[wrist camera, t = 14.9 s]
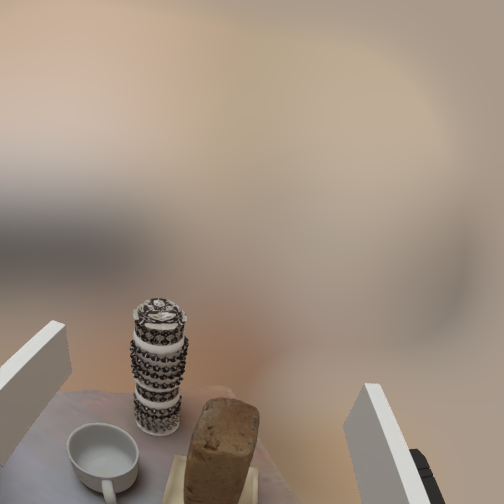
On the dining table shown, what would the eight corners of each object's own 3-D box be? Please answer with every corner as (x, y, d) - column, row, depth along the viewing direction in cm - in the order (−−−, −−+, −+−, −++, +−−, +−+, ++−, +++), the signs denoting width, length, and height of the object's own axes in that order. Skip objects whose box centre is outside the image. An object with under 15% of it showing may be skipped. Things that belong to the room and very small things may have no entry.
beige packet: (157, 523, 30) (156, 520, 29) (174, 457, 43) (175, 453, 43) (254, 539, 30) (256, 536, 29) (257, 471, 43) (258, 467, 43)
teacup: (81, 445, 39) (72, 416, 37) (142, 453, 42) (139, 425, 40) (71, 510, 26) (57, 487, 24) (143, 521, 29) (138, 500, 27)
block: (229, 527, 30) (256, 459, 25) (178, 514, 31) (181, 439, 26) (243, 475, 41) (270, 392, 35) (198, 464, 42) (210, 377, 36)
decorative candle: (186, 437, 48) (197, 322, 41) (135, 438, 45) (129, 320, 38) (177, 403, 56) (187, 293, 50) (132, 403, 53) (130, 290, 46)
